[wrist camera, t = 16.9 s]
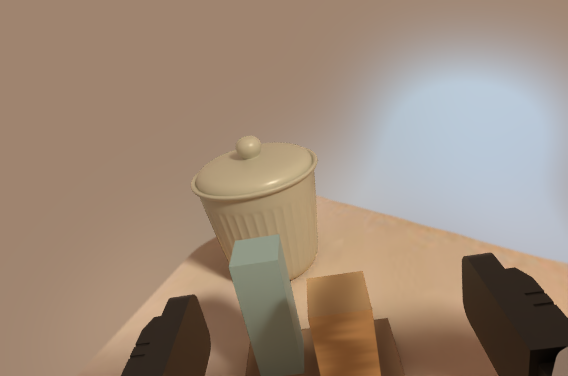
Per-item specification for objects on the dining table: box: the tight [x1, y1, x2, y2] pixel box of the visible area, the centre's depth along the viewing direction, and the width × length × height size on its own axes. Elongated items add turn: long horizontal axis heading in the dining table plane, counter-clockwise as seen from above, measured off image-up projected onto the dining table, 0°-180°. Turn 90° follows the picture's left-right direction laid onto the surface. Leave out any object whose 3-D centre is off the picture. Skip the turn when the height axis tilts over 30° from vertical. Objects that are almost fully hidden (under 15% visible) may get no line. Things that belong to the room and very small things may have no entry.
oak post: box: [307, 271, 381, 376], centre depth 34 cm, size 4×4×14 cm
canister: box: [191, 136, 318, 280], centre depth 61 cm, size 18×18×21 cm
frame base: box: [229, 234, 405, 376], centre depth 37 cm, size 16×18×16 cm
